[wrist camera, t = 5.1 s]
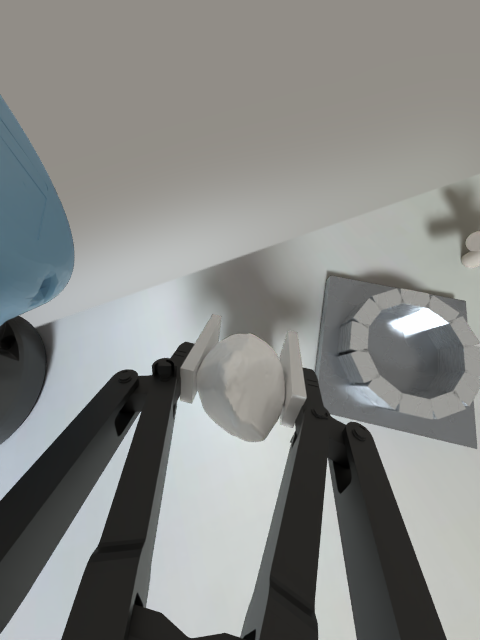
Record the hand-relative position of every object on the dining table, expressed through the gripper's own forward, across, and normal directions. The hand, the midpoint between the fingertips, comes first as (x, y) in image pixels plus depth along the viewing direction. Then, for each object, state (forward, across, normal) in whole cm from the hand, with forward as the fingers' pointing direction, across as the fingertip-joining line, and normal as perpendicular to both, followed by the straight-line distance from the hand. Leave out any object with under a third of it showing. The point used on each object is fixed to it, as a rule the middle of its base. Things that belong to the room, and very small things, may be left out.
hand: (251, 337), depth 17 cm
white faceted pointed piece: (0, 0, -5) cm, 5 cm away
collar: (+5, +14, -2) cm, 15 cm away
